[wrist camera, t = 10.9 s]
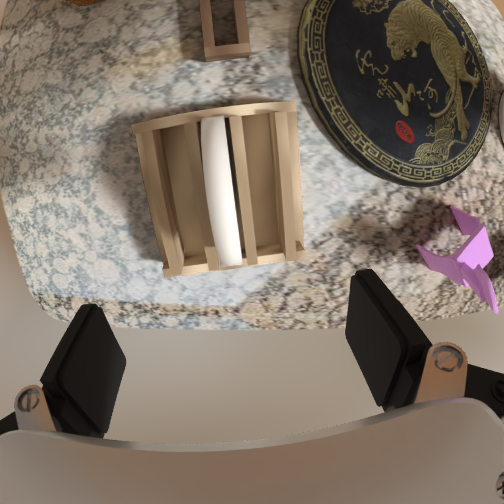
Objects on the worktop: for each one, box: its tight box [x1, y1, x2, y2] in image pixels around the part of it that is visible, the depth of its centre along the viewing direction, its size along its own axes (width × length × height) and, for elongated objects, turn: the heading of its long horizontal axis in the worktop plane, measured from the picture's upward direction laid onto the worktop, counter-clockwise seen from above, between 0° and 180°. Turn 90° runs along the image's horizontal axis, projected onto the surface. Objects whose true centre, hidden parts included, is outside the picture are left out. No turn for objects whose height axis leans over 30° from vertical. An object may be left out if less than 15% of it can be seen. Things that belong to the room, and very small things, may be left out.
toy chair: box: [416, 206, 499, 314], centre depth 28 cm, size 8×9×15 cm
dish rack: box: [131, 101, 305, 277], centre depth 27 cm, size 16×16×5 cm
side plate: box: [201, 116, 243, 267], centre depth 23 cm, size 2×12×12 cm
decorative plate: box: [298, 0, 492, 188], centre depth 24 cm, size 30×2×30 cm
